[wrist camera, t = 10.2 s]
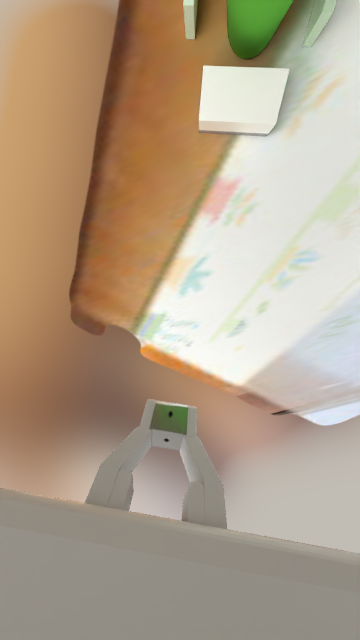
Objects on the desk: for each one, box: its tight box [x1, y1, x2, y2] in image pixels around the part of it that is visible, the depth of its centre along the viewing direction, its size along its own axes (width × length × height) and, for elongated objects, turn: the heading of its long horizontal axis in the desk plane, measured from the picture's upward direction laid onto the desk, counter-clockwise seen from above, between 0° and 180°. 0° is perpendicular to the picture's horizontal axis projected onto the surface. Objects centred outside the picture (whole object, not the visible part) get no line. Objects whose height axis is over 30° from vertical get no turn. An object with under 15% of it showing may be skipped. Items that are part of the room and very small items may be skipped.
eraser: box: [199, 66, 290, 136], centre depth 20 cm, size 9×4×4 cm, turn 86°
